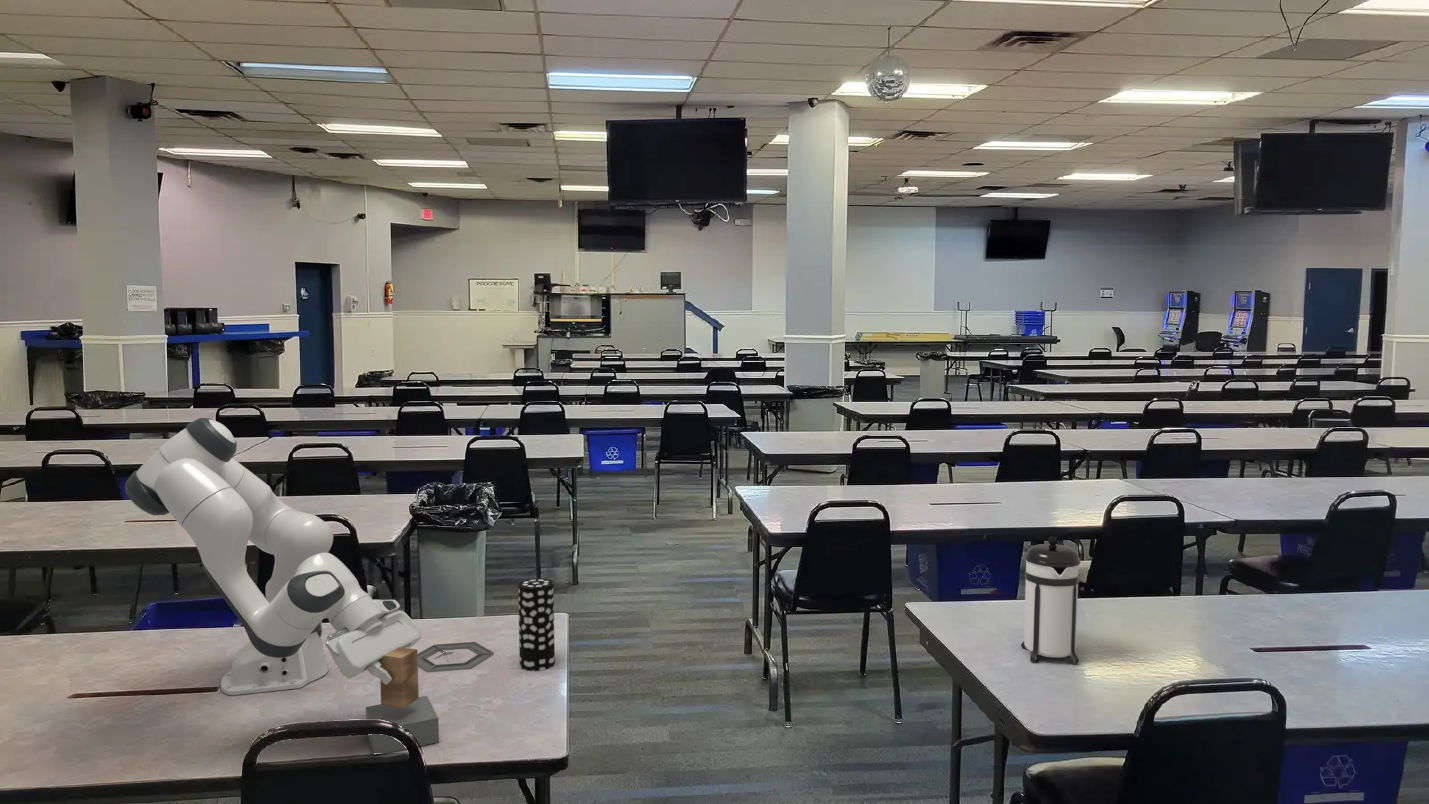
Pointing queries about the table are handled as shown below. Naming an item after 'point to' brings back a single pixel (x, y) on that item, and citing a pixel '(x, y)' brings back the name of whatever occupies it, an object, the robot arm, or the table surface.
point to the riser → (405, 724)
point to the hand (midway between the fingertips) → (401, 675)
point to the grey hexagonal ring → (473, 646)
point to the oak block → (400, 677)
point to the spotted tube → (536, 624)
